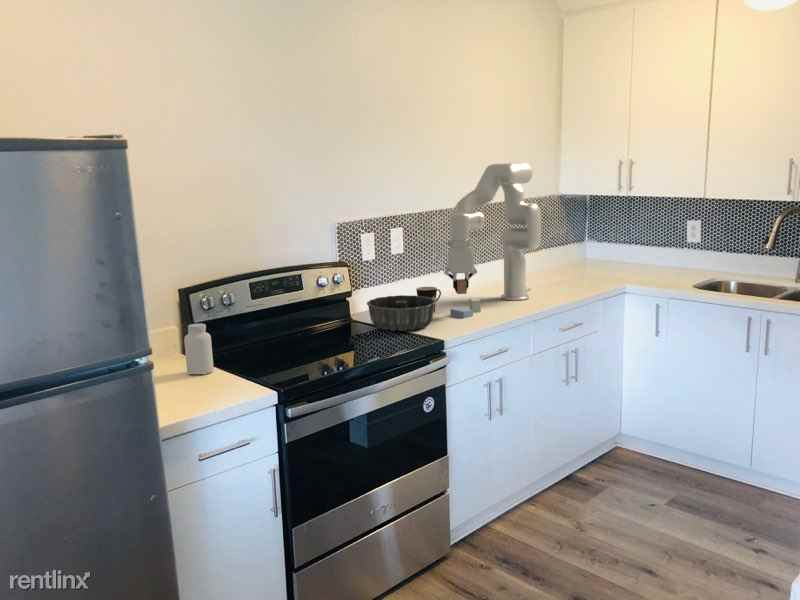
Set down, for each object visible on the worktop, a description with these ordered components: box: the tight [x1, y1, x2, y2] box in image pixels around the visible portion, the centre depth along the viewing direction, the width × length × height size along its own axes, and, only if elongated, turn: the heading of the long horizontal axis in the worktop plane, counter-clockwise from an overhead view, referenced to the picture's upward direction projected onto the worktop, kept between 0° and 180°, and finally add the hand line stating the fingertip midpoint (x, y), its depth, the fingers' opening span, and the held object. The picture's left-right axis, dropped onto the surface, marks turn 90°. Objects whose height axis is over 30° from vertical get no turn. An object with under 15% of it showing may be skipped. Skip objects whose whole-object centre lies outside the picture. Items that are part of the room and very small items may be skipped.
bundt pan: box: [366, 294, 437, 332], centre depth 279 cm, size 26×26×10 cm
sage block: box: [468, 297, 482, 313], centre depth 303 cm, size 6×4×5 cm, turn 5°
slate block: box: [449, 307, 474, 319], centre depth 295 cm, size 8×5×3 cm, turn 37°
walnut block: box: [454, 278, 468, 295], centre depth 292 cm, size 6×4×5 cm, turn 5°
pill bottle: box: [183, 323, 214, 374], centre depth 225 cm, size 8×8×15 cm
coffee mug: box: [415, 286, 442, 313], centre depth 304 cm, size 12×9×10 cm
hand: (460, 289), depth 293 cm, fingers closed on walnut block, 3 cm apart
